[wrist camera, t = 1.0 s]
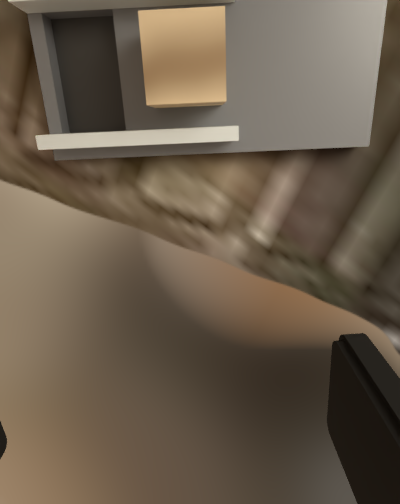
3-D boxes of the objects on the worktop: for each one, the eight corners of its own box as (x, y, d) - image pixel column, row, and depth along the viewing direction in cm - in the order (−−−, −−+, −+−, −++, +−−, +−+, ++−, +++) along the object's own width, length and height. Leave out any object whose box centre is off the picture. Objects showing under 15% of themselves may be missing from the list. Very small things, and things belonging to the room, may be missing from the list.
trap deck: (34, -11, 25) (0, -38, 21) (378, -30, 25) (414, -61, 20) (64, 158, 29) (41, 164, 25) (358, 144, 29) (384, 148, 25)
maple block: (150, 32, 24) (137, 10, 20) (220, 28, 24) (225, 5, 20) (156, 108, 26) (146, 105, 21) (222, 104, 26) (226, 101, 21)
